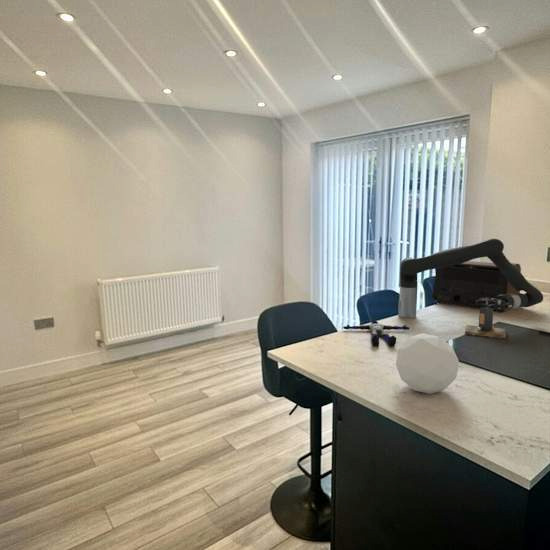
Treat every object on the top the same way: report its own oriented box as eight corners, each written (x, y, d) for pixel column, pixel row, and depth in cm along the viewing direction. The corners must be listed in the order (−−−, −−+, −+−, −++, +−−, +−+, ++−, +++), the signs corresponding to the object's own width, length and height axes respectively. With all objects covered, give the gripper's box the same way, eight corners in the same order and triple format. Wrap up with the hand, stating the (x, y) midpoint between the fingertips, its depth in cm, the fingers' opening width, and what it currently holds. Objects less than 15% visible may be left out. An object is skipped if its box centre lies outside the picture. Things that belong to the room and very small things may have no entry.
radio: (424, 304, 252) (426, 261, 247) (447, 296, 274) (449, 256, 269) (502, 316, 219) (505, 267, 215) (520, 306, 241) (524, 261, 236)
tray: (464, 334, 190) (465, 327, 190) (466, 327, 201) (466, 320, 200) (505, 338, 182) (506, 331, 182) (504, 331, 193) (505, 324, 192)
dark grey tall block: (485, 328, 194) (487, 306, 192) (492, 330, 191) (493, 308, 189) (478, 329, 192) (479, 307, 190) (484, 331, 189) (485, 309, 187)
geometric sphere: (409, 408, 135) (373, 359, 137) (441, 375, 144) (408, 329, 146) (448, 404, 118) (407, 348, 120) (482, 366, 127) (444, 315, 130)
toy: (346, 335, 176) (342, 316, 206) (346, 348, 177) (342, 327, 207) (422, 335, 173) (406, 316, 202) (422, 349, 174) (406, 328, 203)
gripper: (495, 291, 200) (471, 294, 195) (522, 297, 187) (497, 300, 181) (494, 305, 202) (470, 309, 196) (520, 312, 189) (496, 316, 183)
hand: (483, 304), depth 189 cm, fingers open, 8 cm apart
